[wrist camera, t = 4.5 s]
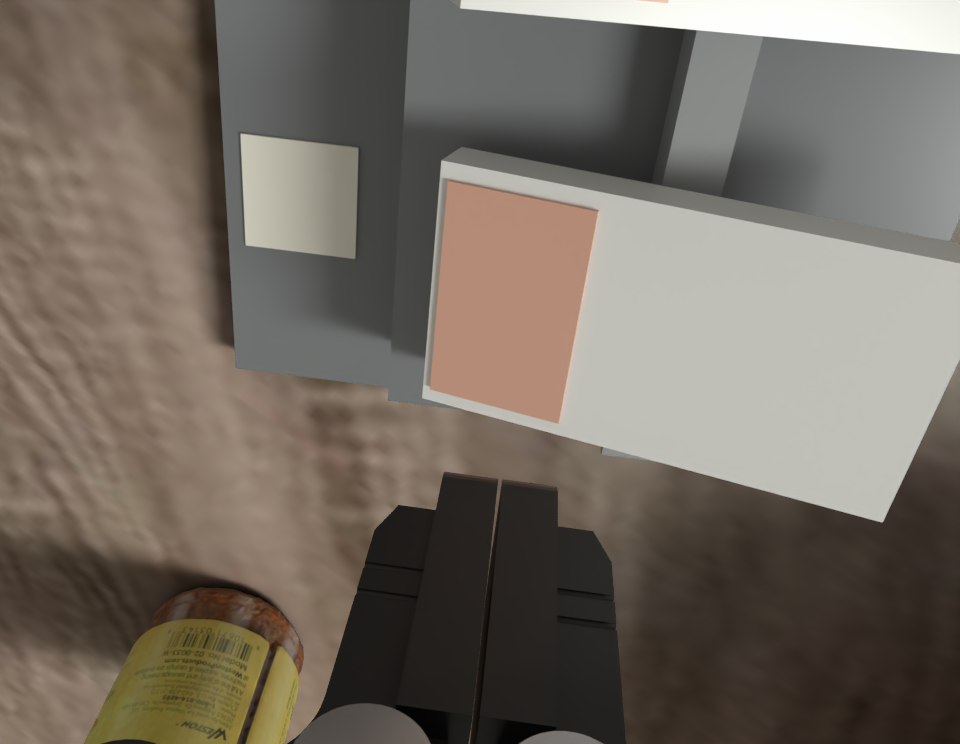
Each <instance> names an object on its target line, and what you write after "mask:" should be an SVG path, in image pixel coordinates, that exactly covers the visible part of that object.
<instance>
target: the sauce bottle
mask: <svg viewBox="0 0 960 744" xmlns="http://www.w3.org/2000/svg"><path fill="white" fill-rule="evenodd" d="M303 659H304V654H303V646H302V644H301V642H300V639H299V636H298V634H297V633H296V631H295V630H294V628H293V627H292V626H291V624H290V623H289V621H288V620H287V619H286V618H285V616H284V615H283V614H282V613H281V612H280V611H279V610H278V609H277V608H276V607H274V606H272V605H270V604H269V603H267V602H265V601H263V600H262V599H261V598H257V597H254V596H252V595H249V594H245V593H243V592H241V591H238V590H234V589H228V588H218V587H215V588H204V587H199V588H196V589H193V590H190V591H186V592H181V593H179V594H178V595H177V596H175V597H173V598H171V599H169V600H167V601H166V602H165V603H164V604H162V605H161V606H160V607H159V609H157V610H156V612H155V613H154V616H153V618H152V620H151V622H150V624H149V626H148V628H147V629H146V631H145V633H144V634H143V635H142V636H141V637H140V638H139V639H138V640H137V641H136V642H135V644H134V645H133V647H132V649H131V651H130V653H129V655H128V657H127V659H126V661H125V663H124V665H123V667H122V669H121V671H120V673H119V675H118V677H117V679H116V680H115V682H114V684H113V686H112V688H111V690H110V692H109V694H108V696H107V698H106V700H105V702H104V704H103V706H102V708H101V710H100V713H99V715H98V717H97V719H96V721H95V723H94V725H93V727H92V729H91V731H90V733H89V735H88V737H87V739H86V741H85V743H84V744H102V743H106V742H109V741H115V740H123V739H137V740H144V741H149V742H153V743H156V744H284V742H285V739H286V735H287V732H288V728H289V724H290V720H291V716H292V712H293V709H294V705H295V701H296V697H297V694H298V689H299V676H298V675H299V673H300V672H301V669H302V664H303Z"/></svg>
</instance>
